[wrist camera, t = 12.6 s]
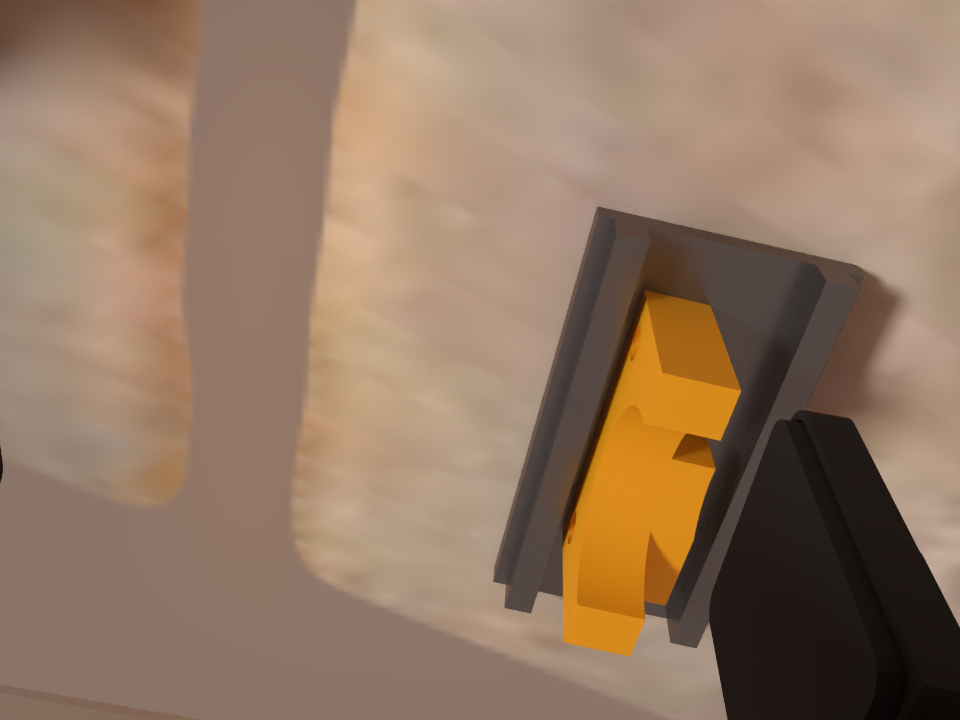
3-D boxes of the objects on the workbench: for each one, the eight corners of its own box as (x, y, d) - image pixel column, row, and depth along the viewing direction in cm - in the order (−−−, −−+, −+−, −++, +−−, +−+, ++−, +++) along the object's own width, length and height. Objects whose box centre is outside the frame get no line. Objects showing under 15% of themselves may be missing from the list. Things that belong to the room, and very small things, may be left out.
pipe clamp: (657, 553, 40) (674, 665, 34) (562, 532, 40) (563, 642, 34) (754, 315, 34) (794, 403, 29) (644, 289, 34) (662, 373, 28)
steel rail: (855, 265, 34) (876, 292, 32) (701, 610, 43) (709, 650, 40) (597, 206, 34) (600, 229, 32) (494, 567, 42) (491, 605, 40)
